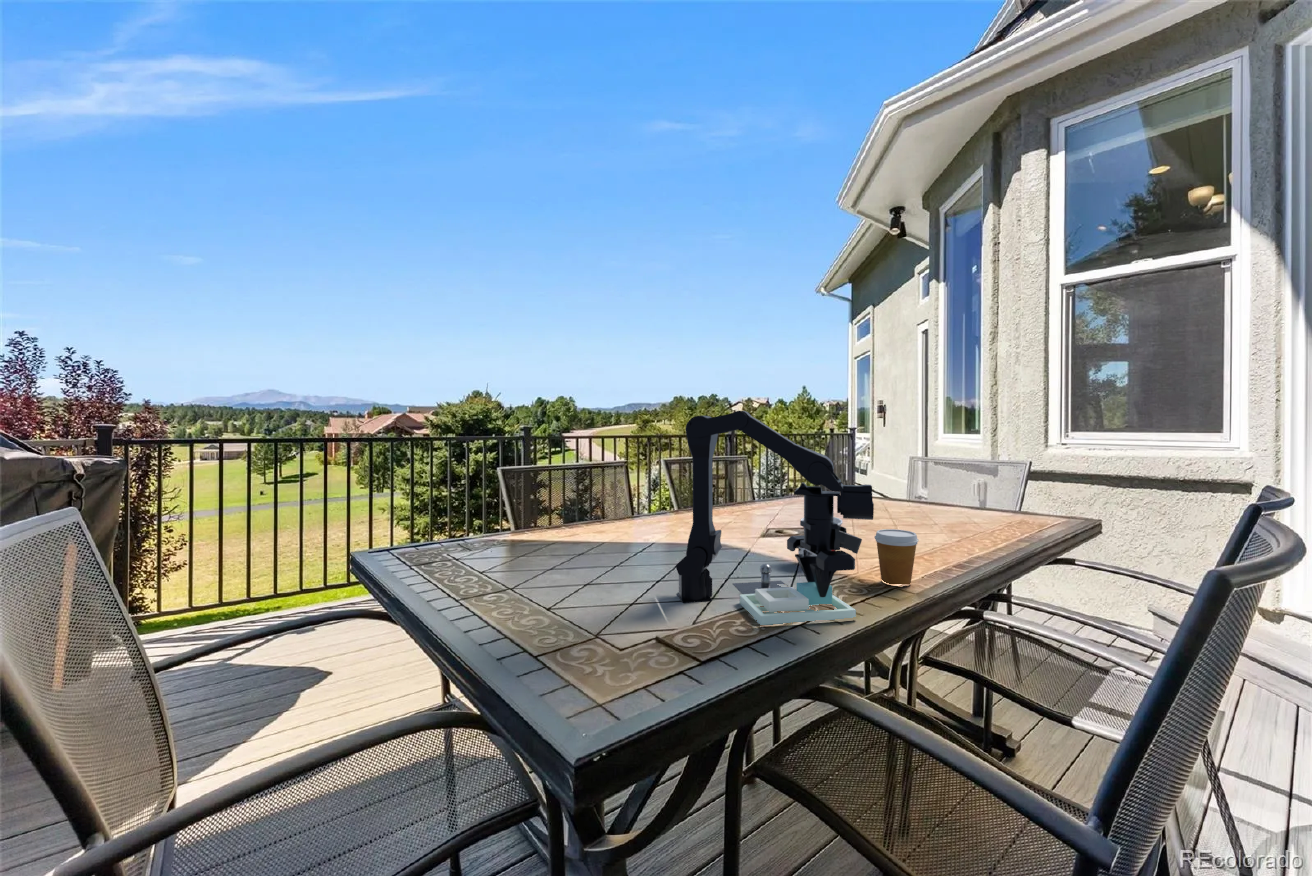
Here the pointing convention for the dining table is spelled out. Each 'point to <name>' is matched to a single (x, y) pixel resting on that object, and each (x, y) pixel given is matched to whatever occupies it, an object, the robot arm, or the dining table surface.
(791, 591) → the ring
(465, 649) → the dining table surface
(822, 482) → the robot arm
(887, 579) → the disposable coffee cup
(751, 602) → the tray
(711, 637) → the dining table surface
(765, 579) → the peg stand
